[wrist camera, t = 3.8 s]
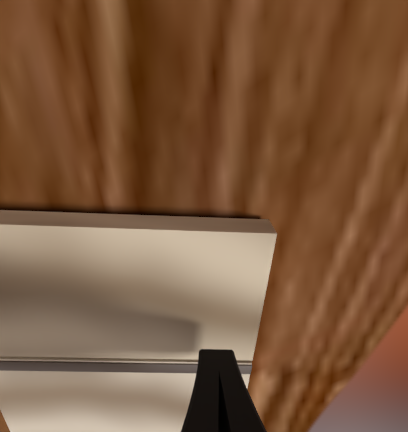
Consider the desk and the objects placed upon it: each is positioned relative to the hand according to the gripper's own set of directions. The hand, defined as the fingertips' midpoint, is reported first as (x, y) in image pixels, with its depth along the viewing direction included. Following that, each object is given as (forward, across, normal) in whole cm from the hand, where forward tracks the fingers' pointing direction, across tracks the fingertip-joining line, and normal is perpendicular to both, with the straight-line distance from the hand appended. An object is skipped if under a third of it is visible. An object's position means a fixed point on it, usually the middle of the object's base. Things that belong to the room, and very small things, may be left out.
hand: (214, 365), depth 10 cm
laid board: (+2, +4, +5) cm, 7 cm away
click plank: (+2, +4, -2) cm, 6 cm away
